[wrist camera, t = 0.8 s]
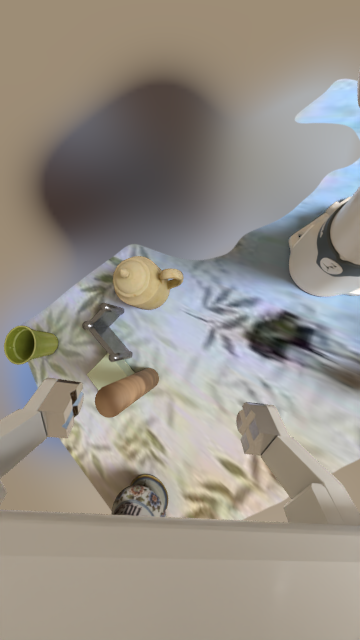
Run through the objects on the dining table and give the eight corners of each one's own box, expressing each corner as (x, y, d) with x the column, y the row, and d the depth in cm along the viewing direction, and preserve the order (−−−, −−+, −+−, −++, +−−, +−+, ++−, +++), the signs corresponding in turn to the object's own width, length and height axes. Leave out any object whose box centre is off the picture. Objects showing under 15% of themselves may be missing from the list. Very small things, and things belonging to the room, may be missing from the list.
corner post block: (121, 306, 53) (103, 301, 45) (149, 338, 50) (136, 338, 42) (101, 326, 53) (81, 325, 46) (129, 359, 51) (112, 363, 43)
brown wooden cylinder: (149, 363, 50) (109, 379, 32) (162, 379, 49) (129, 403, 31) (136, 377, 50) (89, 399, 33) (148, 392, 49) (107, 424, 32)
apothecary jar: (115, 492, 49) (56, 579, 31) (147, 458, 48) (103, 528, 30) (149, 535, 46) (105, 656, 29) (183, 500, 45) (158, 603, 28)
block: (116, 351, 52) (108, 352, 48) (136, 374, 50) (128, 377, 46) (96, 371, 53) (86, 374, 49) (115, 395, 51) (106, 400, 47)
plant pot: (34, 330, 58) (2, 329, 50) (61, 324, 56) (33, 322, 48) (37, 362, 57) (5, 367, 48) (65, 357, 55) (37, 361, 47)
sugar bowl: (170, 252, 51) (149, 218, 36) (191, 288, 49) (177, 267, 34) (123, 282, 53) (85, 262, 39) (141, 318, 51) (109, 310, 37)
